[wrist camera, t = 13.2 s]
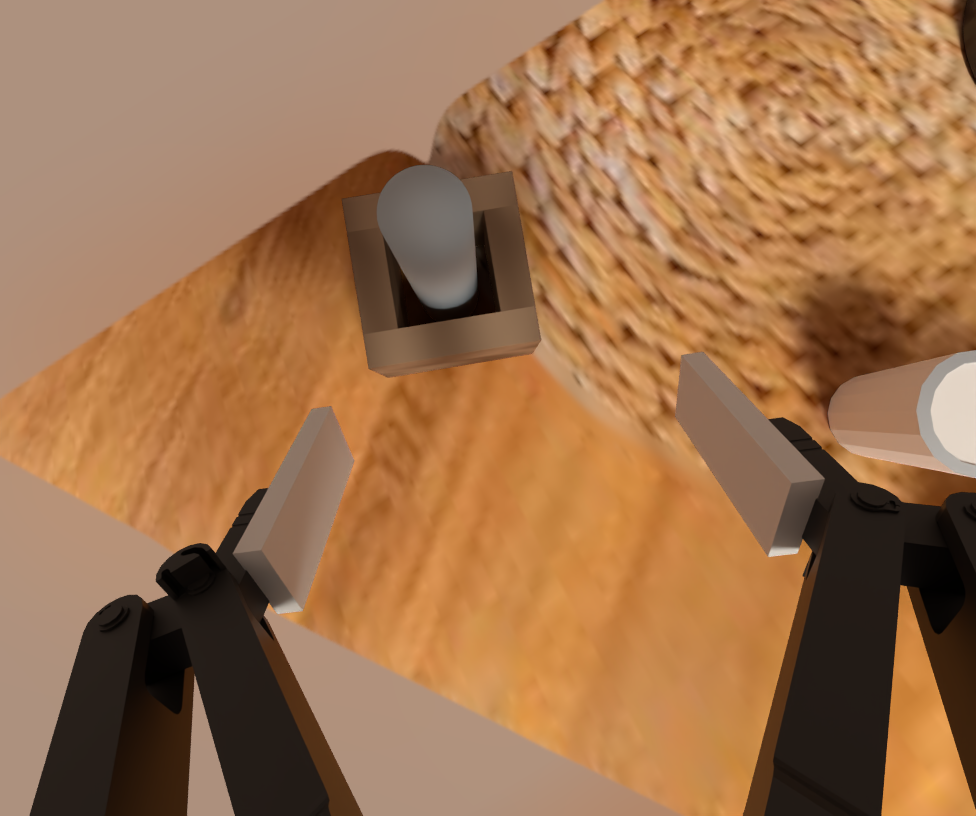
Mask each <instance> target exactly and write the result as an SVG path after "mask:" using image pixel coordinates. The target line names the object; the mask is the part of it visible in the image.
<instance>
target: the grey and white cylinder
mask: <svg viewBox="0 0 976 816" xmlns="http://www.w3.org/2000/svg"><path fill="white" fill-rule="evenodd" d="M828 420H829V426H830V430H831V432H832V433H833V435H834V437H835V438H836V440H837V441H838V443H839V444H840V445H842V446H843V447H844V448H846V449H847V450H848V451H850V452H851V453H854V454H857V455H861V456H865V457H870V458H875V459H880V460H885V461H890V462H895V463H900V464H905V465H911V466H916V467H921V468H926V469H931V470H936V471H941V472H946V473H952V474H957V475H962V476H967V477H972V478H976V350H974V351H967V352H960V353H955V354H950V355H946V356H942V357H938V358H933V359H929V360H925V361H921V362H916V363H912V364H908V365H904V366H899V367H895V368H891V369H886V370H882V371H878V372H874V373H869V374H865V375H861V376H857V377H853V378H852V379H850V380H848V381H847V382H845V383H843V384H842V385H840V387H839V388H838V389H837V391H836V392H835V393H834V395H833V396H832V397H831V401H830V405H829V409H828Z"/></svg>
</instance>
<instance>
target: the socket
mask: <svg viewBox="0 0 976 816" xmlns="http://www.w3.org/2000/svg"><path fill="white" fill-rule="evenodd" d="M460 181H461V182H462V183H463V184H464V186H465V187H466V189H467V191H468V193H469V196H470V198H471V202H472V210H473V224H474V238H475V246H481V245H484V246H485V252H486V258H487V264H488V270H489V276H490V281H491V287H492V293H493V299H494V305H495V311H496V313H490V314H484V315H478V316H472V317H466V318H460V319H453V320H447V321H441V322H435V323H429V324H423V325H417V326H411V327H410V326H409V320H408V313H407V307H406V301H405V295H404V289H403V283H402V277H401V270H400V265H399V263H398V262H397V260H396V258H395V256H394V254H393V253H392V251H391V249H390V247H389V245H388V244H387V242H386V240H385V238H384V237H383V235H382V233H381V231H380V228H379V225H378V221H377V204H378V200H379V196H380V194H381V193H375V194H369V195H363V196H356V197H350V198H344V199H342V204H343V210H344V217H345V223H346V229H347V236H348V242H349V248H350V254H351V261H352V267H353V273H354V280H355V286H356V292H357V298H358V305H359V311H360V317H361V324H362V330H363V336H364V343H365V349H366V355H367V361H368V368H369V369H370V370H372V371H375V372H377V373H379V374H381V375H383V376H386V377H388V378H390V377H396V376H402V375H408V374H414V373H420V372H426V371H432V370H438V369H444V368H450V367H456V366H462V365H468V364H474V363H480V362H486V361H492V360H498V359H504V358H510V357H516V356H522V355H528V354H532V353H533V352H534V350H535V349H536V347H537V346H538V344H539V343H540V341H541V336H540V330H539V324H538V319H537V313H536V307H535V301H534V295H533V290H532V284H531V278H530V272H529V266H528V261H527V255H526V249H525V243H524V237H523V232H522V226H521V220H520V214H519V208H518V203H517V197H516V191H515V185H514V179H513V174H512V171H510V172H503V173H497V174H491V175H485V176H479V177H473V178H467V179H461V180H460Z"/></svg>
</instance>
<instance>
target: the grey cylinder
mask: <svg viewBox="0 0 976 816" xmlns="http://www.w3.org/2000/svg"><path fill="white" fill-rule="evenodd" d="M377 221H378V225H379V228H380V231H381V233H382V235H383V237H384V238H385V240H386V242H387V244H388V245H389V247H390V249H391V251H392V253H393V254H394V256H395V258H396V260H397V262H398V263H399V265H400V267H401V269H402V271H403V272H404V274H405V276H406V278H407V279H408V281H409V283H410V285H411V287H412V288H413V290H414V292H415V294H416V296H417V297H418V299H419V301H420V303H421V305H422V306H423V308H424V310H425V311H426V313H427V314H428V315H429V316H430V317H431V318H432V319H434V320H436V321H438V322H441V321H447V320H453V319H460V318H466V317H469V316H470V315H471V314H472V313H473V311H474V310H475V308H476V306H477V302H478V281H477V266H476V252H475V238H474V224H473V210H472V202H471V198H470V196H469V193H468V191H467V189H466V187H465V186H464V184H463V183H462V182H461V181H460V180H459V179H458V178H457V177H456V176H455V175H454V174H452V173H451V172H449V171H447V170H445V169H443V168H440V167H437V166H432V165H417V166H413V167H409V168H407V169H404V170H402V171H400V172H399V173H397V174H396V175H394V176H393V177H392V178H391V179H390V180H389V181H388V182H387V184H386V185H385V187H384V188H383V190H382V192H381V194H380V196H379V200H378V204H377Z"/></svg>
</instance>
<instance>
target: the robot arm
mask: <svg viewBox="0 0 976 816" xmlns="http://www.w3.org/2000/svg"><path fill="white" fill-rule="evenodd" d="M963 34H964V44H965V50H966V54H967V58H968V61H969V64H970V67H971V69H972V72H973V74H974V76H975V78H976V0H968V1H967V4H966V9H965V14H964V25H963ZM675 417H676V419H677V420H678V422H679V423H680V425H681V426H682V428H683V429H684V431H685V432H686V434H687V435H688V437H689V438H690V440H691V441H692V443H693V444H694V446H695V447H696V449H697V450H698V452H699V453H700V455H701V456H702V458H703V459H704V461H705V462H706V464H707V465H708V467H709V468H710V470H711V471H712V473H713V474H714V476H715V477H716V479H717V480H718V482H719V483H720V485H721V486H722V488H723V490H724V491H725V493H726V494H727V496H728V497H729V499H730V500H731V502H732V503H733V505H734V506H735V508H736V509H737V511H738V512H739V514H740V515H741V517H742V518H743V520H744V521H745V523H746V524H747V526H748V527H749V529H750V530H751V532H752V533H753V535H754V536H755V538H756V539H757V541H758V542H759V544H760V545H761V547H762V548H763V550H764V551H765V553H766V554H767V556H768V557H771V556H779V555H788V554H797V553H798V550H799V547H800V545H801V542H802V539H804V541H805V542H806V543H807V544H808V546H809V547H810V548H811V550H812V553H811V556H810V558H809V561H808V563H807V566H806V568H805V571H804V573H803V577H805V578H804V582H803V585H802V589H801V593H800V597H799V601H798V605H797V609H796V613H795V616H794V620H793V624H792V628H791V632H790V636H789V640H788V644H787V648H786V651H785V655H784V659H783V663H782V667H781V671H780V675H779V679H778V683H777V686H776V690H775V694H774V698H773V702H772V706H771V710H770V714H769V717H768V721H767V725H766V729H765V733H764V737H763V741H762V745H761V749H760V752H759V756H758V760H757V764H756V768H755V772H754V776H753V780H752V783H751V787H750V791H749V795H748V799H747V803H746V806H745V810H744V813H743V816H881V811H882V799H883V787H884V775H885V763H886V751H887V739H888V727H889V715H890V703H891V691H892V679H893V667H894V655H895V643H896V631H897V619H898V606H899V594H900V585H904V586H907V589H908V592H909V595H910V598H911V602H912V605H913V608H914V611H915V615H916V618H917V621H918V624H919V628H920V631H921V634H922V637H923V640H924V644H925V647H926V650H927V653H928V657H929V660H930V663H931V666H932V670H933V673H934V676H935V679H936V682H937V686H938V689H939V692H940V695H941V699H942V702H943V705H944V708H945V712H946V715H947V718H948V721H949V724H950V728H951V731H952V734H953V737H954V741H955V744H956V747H957V750H958V754H959V757H960V760H961V763H962V767H963V770H964V773H965V776H966V779H967V783H968V786H969V789H970V792H971V796H972V799H973V802H974V805H975V809H976V493H968V492H959V493H955V494H951V495H950V496H949V497H948V498H947V499H946V500H945V501H944V503H943V505H942V506H931V505H922V504H912V503H904V502H901V501H900V500H899V498H898V497H897V496H895V495H893V494H892V493H890V492H889V491H887V490H885V489H883V488H880V487H877V486H875V485H871V484H866V483H860V482H857V481H856V480H855V479H854V478H853V477H852V476H851V475H850V474H849V473H848V472H847V471H846V470H845V469H844V468H843V467H842V466H841V465H840V464H839V463H838V462H837V461H836V460H835V459H834V458H833V457H831V456H830V455H829V454H828V453H827V452H826V451H825V450H822V447H821V446H820V445H819V444H818V443H817V442H816V441H815V440H812V437H811V436H810V435H809V434H808V433H806V432H805V431H804V430H803V429H802V428H801V427H800V426H798V425H796V424H795V423H793V422H791V421H789V420H787V419H785V418H783V417H782V418H775V419H767V418H766V417H765V416H764V415H763V414H762V413H761V412H760V411H759V410H758V409H757V408H756V406H755V405H754V404H753V403H752V402H751V401H750V400H749V399H748V398H747V397H746V396H745V395H744V394H743V393H742V392H741V391H740V390H739V389H738V388H737V387H736V386H735V385H734V384H733V383H732V381H731V380H730V379H729V378H728V377H727V376H726V375H725V374H724V373H723V372H722V371H721V370H720V369H719V368H718V367H717V366H716V365H715V364H714V363H713V362H712V361H711V360H710V359H709V358H708V356H707V355H706V354H705V353H704V352H699V353H692V354H686V355H682V356H681V365H680V375H679V385H678V394H677V404H676V414H675ZM353 463H354V459H353V456H352V454H351V452H350V449H349V447H348V445H347V442H346V440H345V438H344V435H343V433H342V431H341V428H340V426H339V423H338V421H337V419H336V416H335V414H334V412H333V409H332V407H331V406H329V407H323V408H316V409H312V410H311V411H310V413H309V415H308V417H307V419H306V421H305V422H304V424H303V426H302V428H301V430H300V432H299V433H298V435H297V437H296V439H295V441H294V443H293V444H292V446H291V448H290V450H289V452H288V453H287V455H286V457H285V459H284V461H283V463H282V464H281V466H280V468H279V470H278V472H277V474H276V475H275V477H274V479H273V481H272V483H271V485H270V486H269V488H265V489H258V490H257V491H256V492H255V493H254V494H253V495H252V496H251V497H250V498H249V499H248V500H247V501H246V502H245V504H244V506H243V507H242V509H241V511H240V512H239V514H238V515H239V516H238V517H237V518H236V519H235V521H234V523H233V524H232V528H230V529H229V531H228V533H227V535H226V536H225V538H224V540H223V541H222V543H221V545H220V547H219V548H218V550H217V552H216V553H215V552H214V551H213V550H212V548H211V547H210V546H209V545H207V544H202V543H198V544H194V545H190V546H187V547H185V548H183V549H181V550H179V551H178V552H176V553H175V554H173V555H172V556H171V557H169V558H168V559H167V560H166V562H164V564H162V565H161V567H160V569H159V571H158V573H157V575H156V582H157V583H158V584H159V585H160V587H162V589H163V590H164V591H165V592H166V593H167V594H168V596H165V597H163V598H160V599H158V600H155V601H152V602H150V603H146V602H145V601H144V600H143V599H142V598H141V597H139V596H138V595H127V596H124V597H121V598H118V599H116V600H114V601H113V602H111V603H109V604H107V605H106V606H105V607H103V608H102V609H101V610H100V611H99V612H97V613H96V614H95V615H94V617H93V618H92V619H91V620H90V621H89V622H88V624H87V626H86V628H85V630H84V632H83V635H82V639H81V642H80V645H79V649H78V652H77V656H76V659H75V663H74V666H73V669H72V673H71V676H70V679H69V683H68V686H67V690H66V693H65V696H64V700H63V704H62V707H61V710H60V714H59V717H58V721H57V724H56V727H55V730H54V734H53V737H52V741H51V744H50V748H49V751H48V755H47V758H46V761H45V764H44V768H43V771H42V775H41V778H40V782H39V785H38V788H37V792H36V795H35V798H34V802H33V805H32V809H31V812H30V816H187V803H188V784H189V766H190V748H191V747H190V746H191V729H192V711H193V710H192V709H193V692H194V674H195V676H196V680H197V684H198V687H199V691H200V694H201V698H202V701H203V705H204V708H205V712H206V715H207V719H208V722H209V726H210V729H211V733H212V736H213V740H214V744H215V747H216V751H217V754H218V758H219V761H220V764H221V768H222V772H223V775H224V779H225V782H226V786H227V789H228V793H229V796H230V800H231V803H232V807H233V810H234V814H235V816H363V815H362V813H361V811H360V808H359V806H358V804H357V802H356V800H355V798H354V796H353V794H352V792H351V790H350V788H349V786H348V784H347V782H346V780H345V778H344V776H343V774H342V772H341V769H340V767H339V765H338V763H337V761H336V759H335V757H334V755H333V753H332V751H331V749H330V747H329V745H328V743H327V741H326V739H325V737H324V735H323V733H322V731H321V729H320V726H319V724H318V722H317V720H316V718H315V716H314V714H313V712H312V710H311V708H310V706H309V704H308V702H307V700H306V698H305V696H304V694H303V692H302V690H301V688H300V686H299V683H298V681H297V680H296V678H295V675H294V673H293V671H292V669H291V667H290V665H289V663H288V661H287V659H286V657H285V655H284V653H283V651H282V649H281V647H280V645H279V643H278V641H277V639H276V637H275V634H274V632H273V630H272V628H271V626H270V624H269V622H268V621H267V619H266V618H265V617H264V613H265V611H266V608H267V606H268V603H270V605H271V606H272V607H273V609H274V610H275V611H276V613H277V614H281V613H290V612H298V611H303V609H304V606H305V603H306V600H307V597H308V594H309V591H310V588H311V586H312V583H313V580H314V577H315V574H316V571H317V568H318V565H319V562H320V559H321V556H322V554H323V551H324V548H325V545H326V542H327V539H328V536H329V533H330V530H331V527H332V524H333V522H334V519H335V516H336V513H337V510H338V507H339V504H340V501H341V498H342V495H343V492H344V489H345V487H346V484H347V481H348V478H349V475H350V472H351V469H352V466H353Z"/></svg>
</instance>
